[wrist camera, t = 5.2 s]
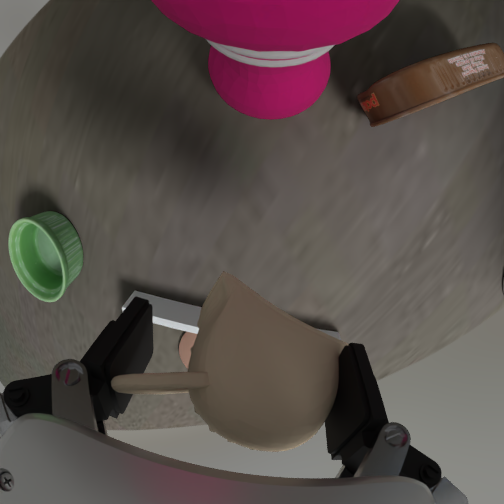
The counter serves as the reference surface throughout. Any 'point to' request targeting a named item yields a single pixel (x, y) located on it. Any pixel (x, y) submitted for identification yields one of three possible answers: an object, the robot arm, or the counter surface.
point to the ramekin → (45, 254)
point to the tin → (431, 82)
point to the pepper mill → (273, 46)
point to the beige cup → (252, 371)
